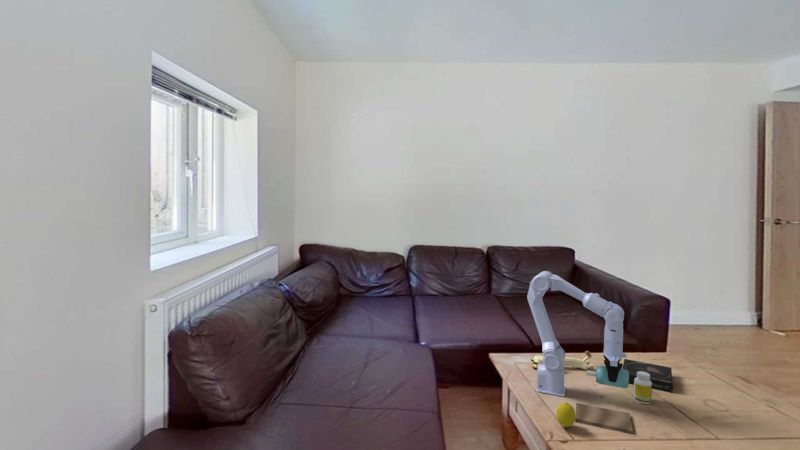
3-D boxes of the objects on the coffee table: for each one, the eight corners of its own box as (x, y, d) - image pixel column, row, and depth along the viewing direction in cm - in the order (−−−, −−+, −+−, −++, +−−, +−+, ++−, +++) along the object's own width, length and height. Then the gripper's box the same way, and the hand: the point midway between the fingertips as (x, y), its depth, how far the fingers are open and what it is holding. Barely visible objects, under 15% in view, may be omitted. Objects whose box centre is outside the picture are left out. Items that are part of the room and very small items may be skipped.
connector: (586, 381, 142) (586, 367, 142) (586, 377, 146) (586, 363, 145) (628, 389, 137) (629, 374, 136) (627, 384, 140) (628, 370, 140)
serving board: (575, 421, 130) (575, 418, 130) (576, 405, 140) (576, 402, 140) (632, 433, 123) (632, 430, 123) (629, 416, 133) (629, 413, 133)
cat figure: (584, 367, 175) (526, 361, 176) (587, 347, 174) (528, 342, 175) (595, 377, 165) (533, 371, 166) (597, 356, 164) (535, 350, 165)
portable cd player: (670, 376, 163) (671, 367, 163) (672, 394, 149) (672, 383, 148) (624, 367, 172) (624, 358, 171) (621, 383, 157) (621, 373, 157)
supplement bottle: (653, 405, 140) (654, 377, 139) (636, 403, 141) (637, 376, 140) (647, 397, 145) (648, 371, 145) (631, 396, 146) (632, 369, 146)
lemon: (552, 422, 129) (553, 398, 129) (569, 421, 130) (570, 397, 129) (561, 432, 124) (561, 407, 123) (578, 431, 124) (579, 406, 124)
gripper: (628, 349, 131) (627, 390, 132) (625, 335, 144) (623, 372, 145) (604, 346, 134) (602, 386, 135) (602, 332, 147) (601, 369, 148)
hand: (612, 378), depth 140 cm, fingers closed on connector, 4 cm apart
